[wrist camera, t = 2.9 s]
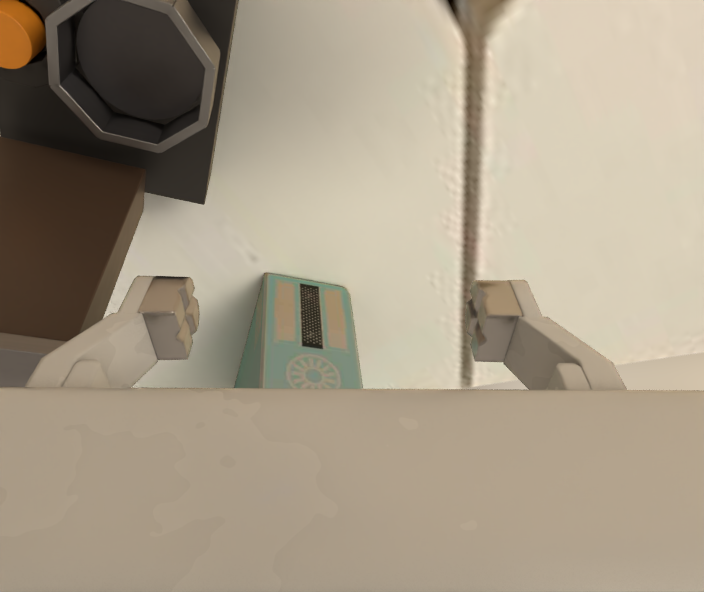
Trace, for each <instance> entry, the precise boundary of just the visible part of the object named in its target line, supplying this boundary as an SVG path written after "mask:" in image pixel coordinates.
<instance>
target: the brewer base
mask: <svg viewBox="0 0 704 592" xmlns="http://www.w3.org/2000/svg"><path fill="white" fill-rule="evenodd" d="M18 1H21V2H23V3H24V4H26V5H27V6H29V7H30V8H31V9H32V10H34V12H35V13H36V14H37V15H38V16H39V17H40V19H41V21H42V22H43V24H44V27H45V19H46V17H47V16H48V15H50V14H51V13H52V12H53V11H55V10H56V9H57V8H58V7H60V6H61V5H62V4H64V3H65V2H66V1H68V0H18ZM95 1H96V0H95ZM95 1H94V2H95ZM187 1H188V2H189V4H190V5H191V7H192V8H193V10H194V11H195V13H196V15H197V16H198V18H199V19H200V21H201V22H202V24H203V25H204V27H205V28H206V30H207V31H208V33H209V34H210V36H211V37H212V39H213V40H214V42H215V43H216V45H217V47H218V48H219V50H220V53H221V54H220V60H219V67H218V74H217V81H216V87H215V94H214V101H213V107H212V111H211V115H210V118H209V122H208V125H207V127H206V128H204V129H202V130H201V131H199V132H197V133H195V134H194V135H192V136H190V137H188V138H187V139H185V140H183V141H181V142H180V143H178V144H176V145H174V146H173V147H171V148H169V149H167V150H166V151H164V152H162V153H156V152H152V151H148V150H143V149H139V148H135V147H131V146H126V145H122V144H118V143H114V142H109V141H105V140H101V139H99V138H97V137H96V136H95V135H94V134H93V133H92V132H91V131H90V130H89V129H88V127H87V126H86V125H85V124H84V123H83V122H82V121H81V120H80V119H79V118H78V117H77V116H76V115H75V113H74V112H73V111H72V110H71V109H70V108H69V107H68V106H67V105H66V104H65V103H64V102H63V101H62V100H61V98H60V97H59V96H58V95H57V94H56V93H55V92H54V91H53V90H52V89H51V88H50V85H49V77H48V61H47V45H46V44H45V46H44V48H43V49H42V51H41V52H39V53H38V54H37V55H36V56H35V57H34V58H33V59H32V60H31V61H30V62H28V63H27V64H26V65H25V66H23V67H21V68H17V69H7V68H3V67H0V134H1V137H4V138H9V139H13V140H17V141H22V142H26V143H31V144H35V145H40V146H44V147H49V148H53V149H57V150H62V151H66V152H71V153H75V154H80V155H84V156H88V157H93V158H97V159H102V160H106V161H111V162H115V163H120V164H124V165H128V166H133V167H137V168H142V169H145V170H146V178H145V192H147V193H151V194H156V195H161V196H165V197H170V198H175V199H179V200H184V201H189V202H193V203H198V204H205V199H206V194H207V190H208V185H209V181H210V176H211V170H212V164H213V157H214V151H215V145H216V139H217V132H218V126H219V120H220V114H221V107H222V101H223V95H224V88H225V82H226V76H227V70H228V63H229V57H230V51H231V45H232V38H233V32H234V26H235V19H236V13H237V7H238V1H239V0H187ZM94 2H92V3H94ZM92 3H91V4H92ZM91 4H90V5H91ZM90 5H88V6H87V7H85V8H84V9H82V10H81V11H79V12H78V13H77V14H75V15H74V31H75V67H76V69H77V70H78V71H79V72H80V73H81V74H82V75H83V77H84V78H85V79H86V80H87V81H88V82H89V84H90V85H91V86H92V84H91V83H90V81H89V80H88V78H87V77H86V75H85V73H84V71H83V69H82V66H81V63H80V61H79V57H78V53H77V44H76V37H77V30H78V25H79V22H80V20H81V18H82V16H83V14H84V12H85V11H86V10H87V8H88V7H89V6H90ZM45 30H46V28H45ZM92 87H93V86H92ZM93 88H94V87H93ZM94 89H95V88H94ZM95 90H96V89H95ZM96 92H97V91H96ZM97 93H98V92H97ZM98 94H99V93H98ZM99 95H100V94H99ZM201 95H202V90H201V93H200V95H199V97H198V98H197V100H196V101H195V102H194V104H193V105H192V106H191V107H190V108H189V109H187V110H186V111H184V112H183V113H181V114H179V115H177V116H174V117H171V118H167V119H157V120H154V119H145V118H141V119H145V120H149V121H153V122H157V123H161V124H167V123H169V122H170V121H172V120H174V119H175V118H177V117H179V116H181V115H182V114H184V113H186V112H187V111H189V110H191V109H192V108H194V107H196V106H198V105H199V104H200V102H201ZM100 96H101V95H100ZM101 97H102V96H101ZM102 98H103V97H102ZM103 100H104V101H105V102H106V103H107V104H108V105H109V106H110V108H111V109H112V110H113V111H114V112H117V113H121V114H125V115H129V116H133V115H130V114H128V113H126V112H123V111H122V110H120V109H118V108H116V107H115V106H113V105H112V104H111V103H109V102H108V101H107V100H106V99H104V98H103ZM133 117H136V116H133ZM137 118H139V117H137Z"/></svg>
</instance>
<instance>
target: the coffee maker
mask: <svg viewBox="0 0 704 592" xmlns="http://www.w3.org/2000/svg"><path fill="white" fill-rule="evenodd" d="M94 1H95V0H68V1H66V2H65V3H64V4H62V5H61V6H60V7H58V8H57V9H56V10H55V11H53V12H52V13H51V14H50V15H48V16H47V17H46V19H45V28H46V45H47V61H48V77H49V85H50V88H51V89H52V90H53V91H54V92H55V93H56V94H57V95H58V96H59V97H60V98H61V100H62V101H63V102H64V103H65V104H66V105H67V106H68V107H69V108H70V109H71V110H72V111H73V112H74V113H75V115H76V116H77V117H78V118H79V119H80V120H81V121H82V122H83V123H84V124H85V125H86V126H87V127H88V129H89V130H90V131H91V132H92V133H93V134H94V135H95V136H96V137H97V138H99V139H101V140H105V141H109V142H114V143H118V144H122V145H126V146H131V147H135V148H139V149H143V150H148V151H152V152H156V153H162V152H164V151H166V150H167V149H169V148H171V147H173V146H174V145H176V144H178V143H180V142H181V141H183V140H185V139H187V138H188V137H190V136H192V135H194V134H195V133H197V132H199V131H201V130H202V129H204V128H206V127H207V125H208V122H209V118H210V115H211V111H212V107H213V101H214V94H215V87H216V81H217V74H218V67H219V60H220V54H221V53H220V50H219V48H218V47H217V45H216V43H215V42H214V40H213V39H212V37H211V36H210V34H209V33H208V31H207V30H206V28H205V27H204V25H203V24H202V22H201V21H200V19H199V18H198V16H197V15H196V13H195V11H194V10H193V8H192V7H191V5H190V4H189V2H188V1H187V0H96V1H95V2H94ZM92 2H94V3H92ZM91 3H92V4H91ZM90 4H91V5H90ZM88 5H90V6H89V7H88V8H87V10H86V11H85V12H84V14H83V16H82V18H81V20H80V22H79V25H78V30H77V37H76V44H77V53H78V57H79V61H80V63H81V66H82V69H83V71H84V73H85V75H86V77H87V78H88V80H89V81H90V83H91V84H92V86H93V87H94V88H95V89H96V90H95V89H94V88H93V87H92V86H91V85H90V84H89V82H88V81H87V80H86V79H85V78H84V77H83V75H82V74H81V73H80V72H79V71H78V70H77V69H76V67H75V31H74V15H75V14H77V13H78V12H79V11H81V10H82V9H84V8H85V7H87V6H88ZM201 90H202V95H201V102H200V104H199V105H198V106H196V107H194V108H192V109H191V110H189V111H187V112H186V113H184V114H182V115H181V116H179V117H177V118H175V119H174V120H172V121H170V122H169V123H167V124H161V123H157V122H153V121H149V120H145V119H154V120H157V119H167V118H171V117H174V116H177V115H179V114H181V113H183V112H184V111H186V110H187V109H189V108H190V107H191V106H192V105H193V104H194V102H195V101H196V100H197V98H198V97H199V95H200V93H201ZM96 91H97V92H98V93H99V94H100V95H101V96H102V97H103V98H104V99H106V100H107V101H108V102H109V103H111V104H112V105H113V106H115V107H116V108H118V109H120V110H122V111H123V112H126V113H128V114H130V115H133V116H136V117H133V116H129V115H125V114H121V113H117V112H114V111H113V110H112V109H111V108H110V106H109V105H108V104H107V103H106V102H105V101H104V100H103V98H102V97H101V96H100V95H99V94H98V93H97V92H96ZM137 117H139V118H137ZM141 118H145V119H141ZM145 178H146V170H145V169H142V168H137V167H133V166H128V165H124V164H120V163H115V162H111V161H106V160H102V159H97V158H93V157H88V156H84V155H80V154H75V153H71V152H66V151H62V150H57V149H53V148H49V147H44V146H40V145H35V144H31V143H26V142H22V141H17V140H13V139H9V138H4V137H0V387H24V386H25V385H26V383H27V381H28V380H29V378H30V376H31V375H32V373H33V372H34V370H35V368H36V367H37V365H38V363H39V362H40V360H41V358H43V357H44V356H46V355H47V354H49V353H51V352H52V351H54V350H55V349H57V348H58V347H60V346H61V345H63V344H65V343H66V342H68V341H69V340H71V339H72V338H74V337H76V336H77V335H79V334H80V333H82V332H83V331H85V330H86V329H88V328H90V327H91V326H93V325H94V324H96V323H97V322H99V321H101V320H102V319H103V317H104V314H105V311H106V309H107V306H108V303H109V301H110V298H111V295H112V293H113V290H114V287H115V284H116V282H117V279H118V276H119V274H120V271H121V268H122V266H123V263H124V260H125V258H126V255H127V252H128V250H129V247H130V244H131V242H132V239H133V236H134V234H135V231H136V228H137V226H138V223H139V220H140V218H141V215H142V212H143V208H144V193H145Z"/></svg>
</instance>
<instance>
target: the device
mask: <svg viewBox="0 0 704 592" xmlns="http://www.w3.org/2000/svg"><path fill="white" fill-rule="evenodd" d="M234 388H279V389H363V385H362V378H361V370H360V363H359V356H358V349H357V341H356V334H355V327H354V320H353V312H352V305H351V298H350V293H349V292H348V291H347V290H346V289H345V288H344V287H341V286H336V285H331V284H325V283H319V282H314V281H308V280H303V279H297V278H291V277H286V276H280V275H275V274H269V273H265V274H264V278H263V281H262V285H261V289H260V293H259V296H258V300H257V304H256V308H255V311H254V315H253V319H252V322H251V326H250V330H249V334H248V337H247V341H246V345H245V349H244V352H243V356H242V360H241V364H240V367H239V371H238V375H237V379H236V382H235V387H234Z"/></svg>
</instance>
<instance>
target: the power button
mask: <svg viewBox="0 0 704 592" xmlns="http://www.w3.org/2000/svg"><path fill="white" fill-rule="evenodd" d="M45 44H46V30H45V27H44V24H43V22H42V21H41V19H40V17H39V16H38V15H37V14H36V13H35V12H34V10H32V9H31V8H30V7H29V6H27V5H26V4H24V3H23V2H21V1H18V0H0V67H3V68H7V69H17V68H21V67H23V66H25V65H26V64H27V63H28V62H30V61H31V60H32V59H33V58H34V57H35V56H36V55H37V54H38V53H39V52H41V51H42V49H43V48H44V46H45Z"/></svg>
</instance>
